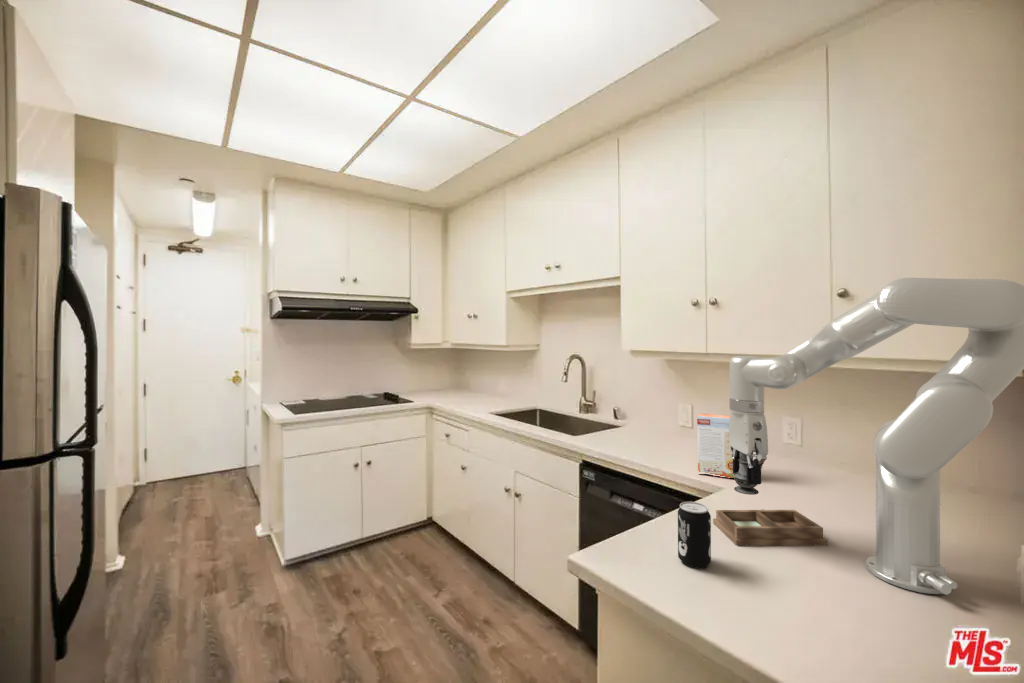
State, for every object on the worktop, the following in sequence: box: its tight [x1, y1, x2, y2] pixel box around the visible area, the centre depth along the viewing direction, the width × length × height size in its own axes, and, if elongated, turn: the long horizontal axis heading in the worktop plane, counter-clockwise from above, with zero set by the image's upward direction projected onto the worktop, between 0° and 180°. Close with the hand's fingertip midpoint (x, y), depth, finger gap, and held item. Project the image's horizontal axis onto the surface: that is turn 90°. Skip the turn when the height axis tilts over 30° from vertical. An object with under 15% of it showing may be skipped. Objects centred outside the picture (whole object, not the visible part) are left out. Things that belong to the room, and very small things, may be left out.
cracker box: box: [696, 413, 734, 478], centre depth 149 cm, size 14×6×21 cm, turn 58°
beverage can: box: [677, 501, 712, 569], centre depth 93 cm, size 7×7×12 cm
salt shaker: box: [733, 452, 760, 496], centre depth 105 cm, size 6×6×12 cm
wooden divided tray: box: [712, 509, 829, 546], centre depth 105 cm, size 21×12×4 cm, turn 89°
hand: (746, 478), depth 105 cm, fingers closed on salt shaker, 5 cm apart
